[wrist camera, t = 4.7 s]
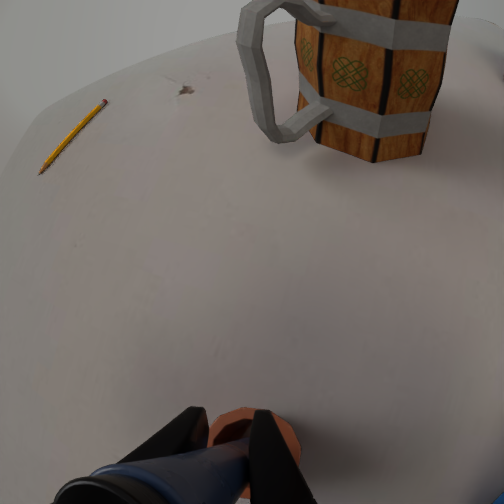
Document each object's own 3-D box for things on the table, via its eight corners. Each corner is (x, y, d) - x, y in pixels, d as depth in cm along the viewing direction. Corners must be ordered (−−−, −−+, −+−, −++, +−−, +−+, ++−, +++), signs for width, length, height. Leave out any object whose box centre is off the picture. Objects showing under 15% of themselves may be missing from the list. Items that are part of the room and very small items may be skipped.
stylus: (274, 456, 12) (204, 592, 1) (246, 467, 12) (76, 591, 1) (263, 431, 13) (137, 455, 2) (235, 441, 13) (25, 472, 2)
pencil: (108, 103, 35) (106, 99, 35) (40, 177, 30) (37, 173, 29) (104, 103, 36) (102, 99, 35) (37, 177, 30) (34, 173, 29)
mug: (357, 72, 32) (362, -42, 20) (452, 130, 26) (488, 0, 13) (215, 136, 28) (177, -18, 15) (318, 229, 22) (330, 4, 9)
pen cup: (308, 463, 14) (316, 477, 10) (240, 488, 14) (222, 510, 10) (279, 401, 16) (276, 393, 12) (213, 427, 16) (186, 426, 12)
